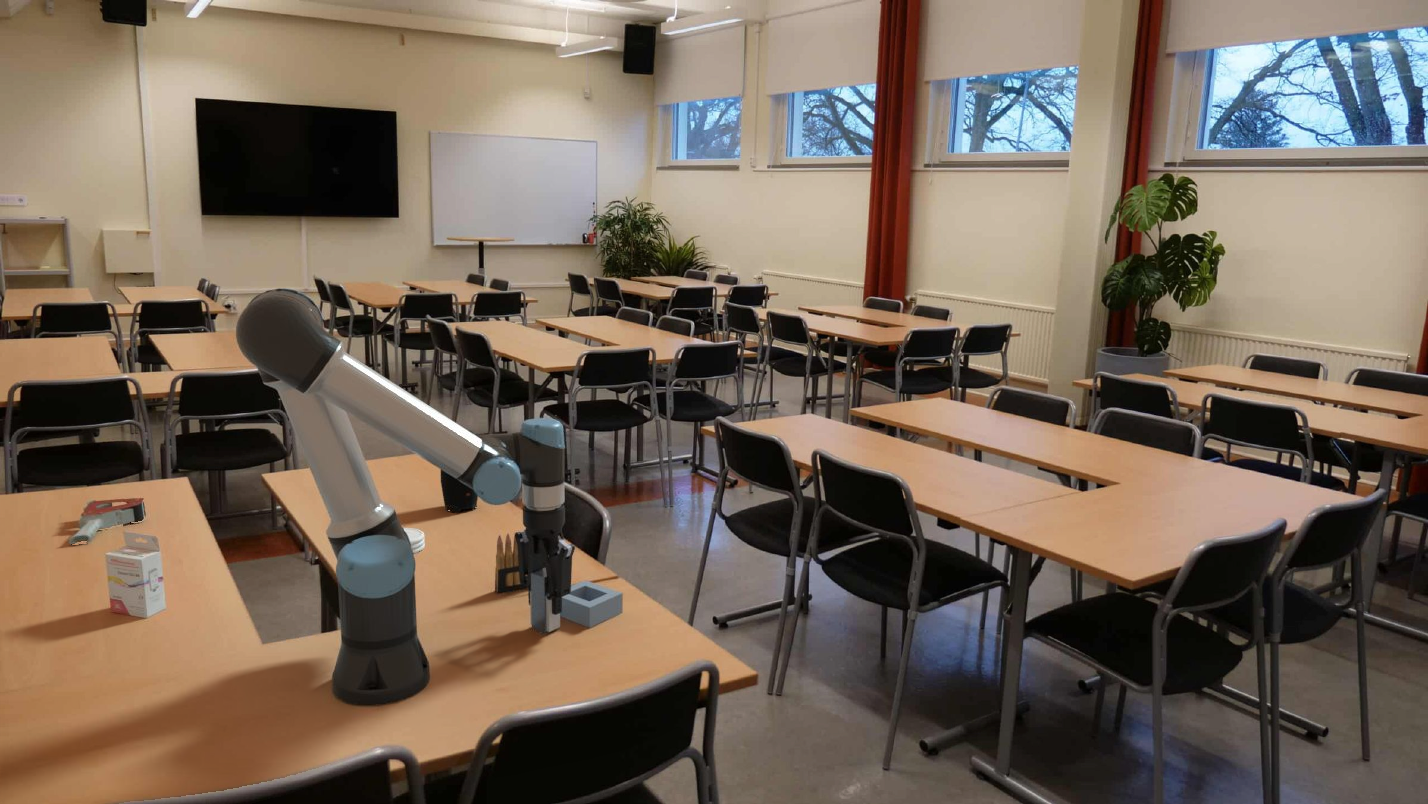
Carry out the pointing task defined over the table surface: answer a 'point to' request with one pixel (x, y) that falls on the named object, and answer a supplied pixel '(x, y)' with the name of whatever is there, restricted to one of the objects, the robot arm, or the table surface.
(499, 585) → the ammunition clip
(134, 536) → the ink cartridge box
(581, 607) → the slot block
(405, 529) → the white ridged disc
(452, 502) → the portable speaker
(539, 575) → the steel pin
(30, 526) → the table surface
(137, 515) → the tape dispenser
